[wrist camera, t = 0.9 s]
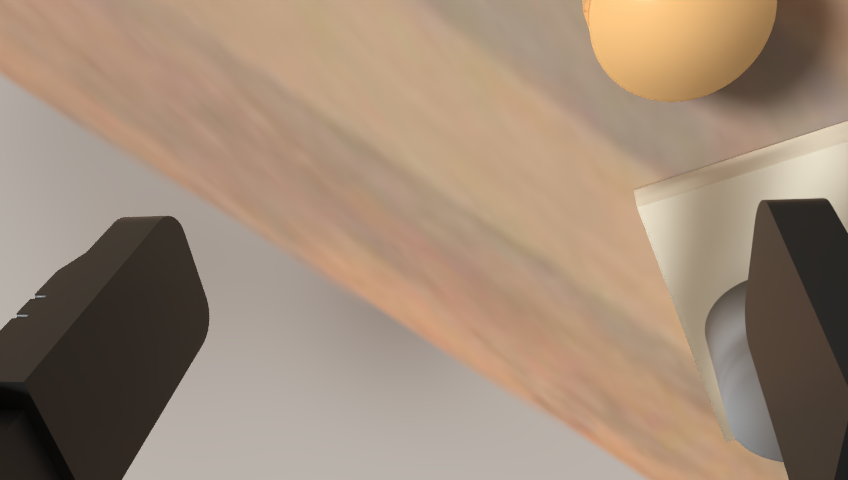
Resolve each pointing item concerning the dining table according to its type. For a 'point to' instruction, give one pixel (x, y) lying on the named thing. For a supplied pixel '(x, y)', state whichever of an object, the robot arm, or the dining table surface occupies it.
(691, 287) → the board
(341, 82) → the dining table surface
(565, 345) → the dining table surface
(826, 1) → the dining table surface
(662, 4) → the orange cap
